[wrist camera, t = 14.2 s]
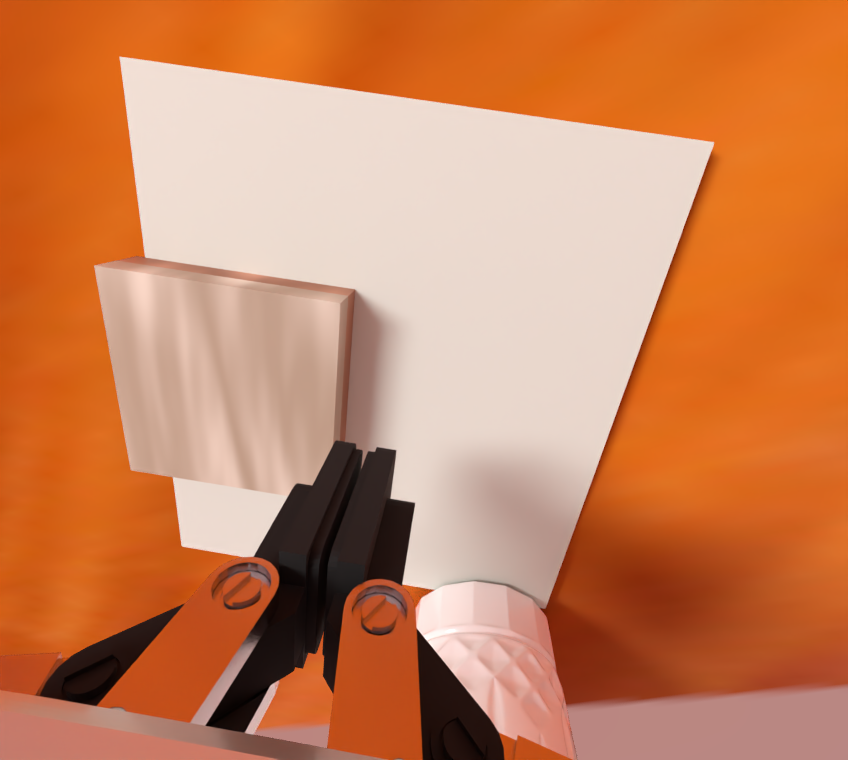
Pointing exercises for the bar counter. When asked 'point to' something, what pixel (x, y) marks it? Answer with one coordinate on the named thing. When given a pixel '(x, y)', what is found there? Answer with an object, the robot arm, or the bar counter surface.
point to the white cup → (500, 658)
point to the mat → (428, 289)
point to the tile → (227, 371)
